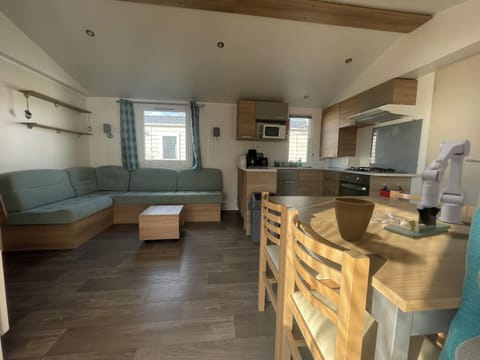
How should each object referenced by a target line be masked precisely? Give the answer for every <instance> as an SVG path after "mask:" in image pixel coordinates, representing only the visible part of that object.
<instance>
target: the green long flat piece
mask: <svg viewBox="0 0 480 360" xmlns="http://www.w3.org/2000/svg"><path fill="white" fill-rule="evenodd" d="M409 221H410V222H414V223H418V221H416V220H409ZM401 222H402V221H400V223H401ZM400 223H399V225H400ZM450 227H452V225H451V224H445V223H443V222H442V223H441V222H438V221H436V227H435V226H434V225H432V226H426V227H420V228H419V233H411V235H408V234H405V233H402V232H399V231H395V230H392V229H389V228H388V226H383V230H385V231H388V232H390V233H394V234H397V235H400V236H403V237H407V238H409V239H417V238H422V237H427V236H428V237H429V236H431V235H432V236H433V235H438V234H443V232H444V233H448V232H449V229H450ZM445 228H446V229H445ZM411 231H412V232H415V230H414V229H411Z"/></svg>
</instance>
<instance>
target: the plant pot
mask: <svg viewBox="0 0 480 360" xmlns="http://www.w3.org/2000/svg"><path fill="white" fill-rule="evenodd" d="M333 205H334V214H335V219H336V225H337V229H338V232H339V234H340V237H341V238H342V239H343V240H346V241H349V242H350V241H351V242H360V241H362V239H363V238H364V236H365V234H366V232H367V229H368V227H369V224H370V222H371V220H372V217H373V213H374V212H375V211H374V209H375V206H376V201H375V202H374V201H372V200H368V199H364V198H357V197H343V196H342V197H334V198H333Z"/></svg>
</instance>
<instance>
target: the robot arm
mask: <svg viewBox="0 0 480 360" xmlns="http://www.w3.org/2000/svg"><path fill="white" fill-rule="evenodd" d="M471 146H472V145H471V142H470V140H468V139H463V140H461V139H460V140H443V141H441V143H440V144H439V151H440V154H439V155H438V158H435V159H433V161H432V162H431V164H430V165H429V167H428V168H427V169H425V170H423V171H422V173H421V185H422V191H421V192H422V193H421V202H420V201H418V204H417V205H416V210H417V212H418V214H419V215H420V219H421V222H422V223H426V224H427V223H428V220H429V216H430V215H431V216H436V217H437V219H439V220H440V221H441V222H442V223H450V224H457V225H464V223H463V222H462V221H461V219H462V213H463V208H464V207H466V206H467V205H468V203H469V193H468V191H466V190H465V189H463V188H462V187H461V186H462V177H463V168H464V166H463V165H464V160H465V157H468V156H469V155H470V151H471ZM469 157H470V156H469ZM448 166H449V168H448ZM447 168H448V179H447V180H448V181H447V187H446V188H442V190H441V191H440V185H441V183H442V181H443V179H444V176H445V171H446V170H447ZM439 192H440V193H439ZM440 207H441V208H440ZM439 213H440V216H437V215H438V214H439ZM419 215H418V216H419Z"/></svg>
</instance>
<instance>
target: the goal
mask: <svg viewBox="0 0 480 360" xmlns="http://www.w3.org/2000/svg"><path fill="white" fill-rule="evenodd" d="M400 222H401V218H396V219H395V223H393V222H388V224H387V227H388V228H389V229H392V230H395V231H399V232H402V233H405V234H408V235H411V233H419V227H420V224H416V226H415V232H412V231H411V228H407V227H404V226H400V225H399V223H400Z"/></svg>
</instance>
